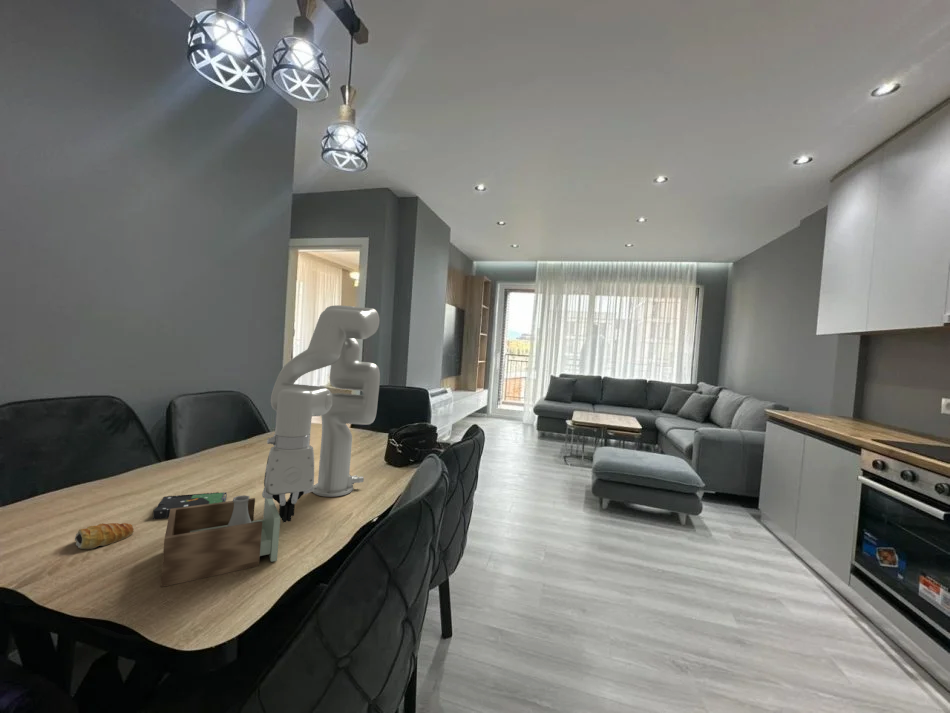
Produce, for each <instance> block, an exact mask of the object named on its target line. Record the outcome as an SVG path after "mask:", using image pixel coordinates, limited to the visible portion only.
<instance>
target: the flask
mask: <svg viewBox="0 0 950 713" xmlns="http://www.w3.org/2000/svg"><path fill="white" fill-rule="evenodd" d="M249 499H251V498H250V495H237V496H234V497H233V499H232V501H233V502H234V509H233V513H232V516H231V519H230V521H229V524H228V526H234V525H241V524H247V523H252V522H251V519H250V516H249V513H248V501H249ZM228 526H227V527H228Z"/></svg>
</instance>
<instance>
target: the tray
mask: <svg viewBox="0 0 950 713" xmlns="http://www.w3.org/2000/svg"><path fill="white" fill-rule="evenodd" d="M262 516H263V518H262V519H256V520H253V521H251V522H252V523H253V522H259V521H262V533H261V546H260V557H262V556H266V555H268V556H269V557H268V558H269V562H270V563H271V562H277V561H278V554H279V540H280V527H281V518H280V515H279V510H278V509H277V506H276V504H275V500H274V499H268V498H264V505H263V515H262ZM227 526H228V525H224V526H217V527H211V528H204V529H198V530H192V531H190V532H197V531H203V530H209V529H215V528H222V527H227Z"/></svg>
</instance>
